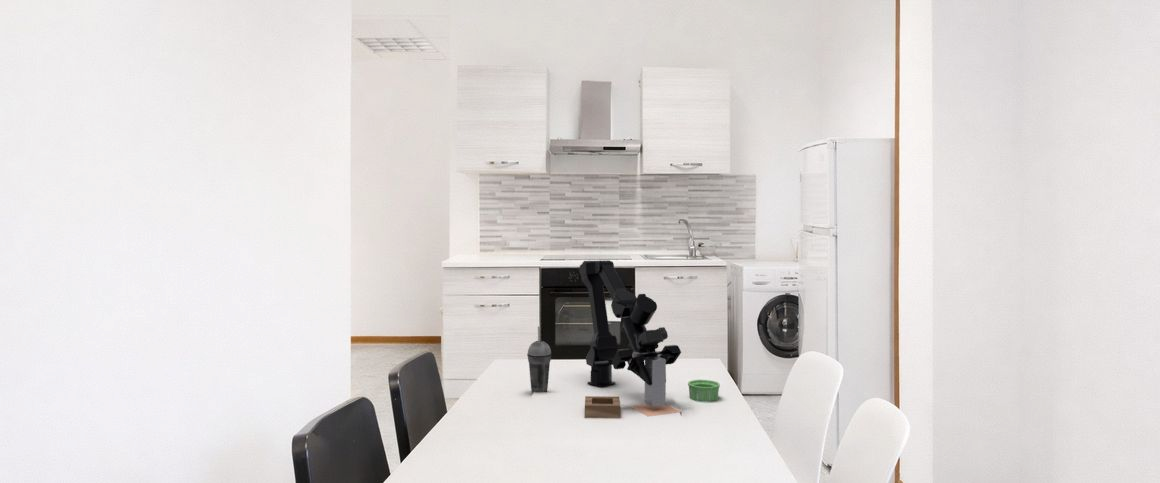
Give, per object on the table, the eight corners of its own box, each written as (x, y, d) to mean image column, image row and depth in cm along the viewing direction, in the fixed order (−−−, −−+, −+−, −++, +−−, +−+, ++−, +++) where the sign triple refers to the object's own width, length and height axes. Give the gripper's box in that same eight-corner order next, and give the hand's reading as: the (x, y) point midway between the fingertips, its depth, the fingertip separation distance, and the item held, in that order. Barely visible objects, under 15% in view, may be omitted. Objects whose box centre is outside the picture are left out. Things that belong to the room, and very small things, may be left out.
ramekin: (684, 400, 177) (684, 385, 177) (691, 393, 185) (691, 378, 185) (716, 404, 173) (716, 388, 173) (722, 396, 182) (722, 381, 182)
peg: (644, 402, 166) (644, 357, 165) (657, 400, 167) (658, 356, 167) (652, 406, 162) (652, 360, 162) (665, 404, 164) (665, 359, 163)
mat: (629, 409, 167) (629, 406, 167) (661, 405, 171) (661, 402, 171) (647, 420, 158) (647, 416, 158) (681, 415, 162) (681, 411, 162)
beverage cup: (553, 390, 187) (553, 324, 187) (549, 397, 180) (549, 328, 180) (529, 390, 188) (529, 323, 188) (524, 396, 181) (524, 327, 180)
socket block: (585, 411, 166) (585, 396, 166) (619, 411, 166) (619, 396, 166) (584, 421, 157) (584, 405, 157) (620, 421, 157) (620, 406, 157)
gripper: (616, 319, 164) (636, 369, 154) (677, 315, 172) (700, 363, 162) (604, 343, 172) (622, 393, 162) (662, 339, 179) (683, 386, 169)
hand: (657, 383), depth 163 cm, fingers closed on peg, 4 cm apart
